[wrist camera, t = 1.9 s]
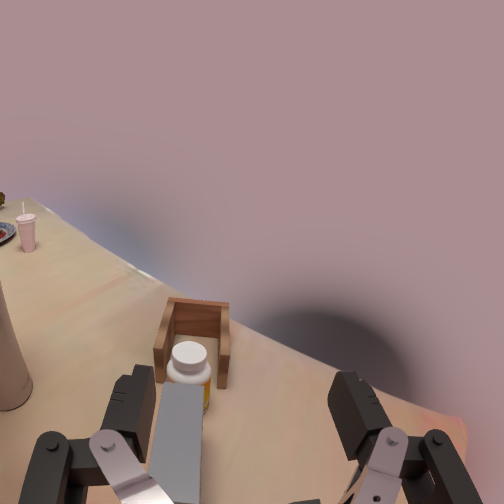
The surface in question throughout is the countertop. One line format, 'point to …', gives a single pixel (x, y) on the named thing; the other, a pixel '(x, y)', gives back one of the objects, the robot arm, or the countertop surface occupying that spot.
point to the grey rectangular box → (178, 443)
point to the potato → (2, 198)
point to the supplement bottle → (190, 367)
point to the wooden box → (193, 332)
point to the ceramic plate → (6, 230)
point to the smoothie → (27, 230)
